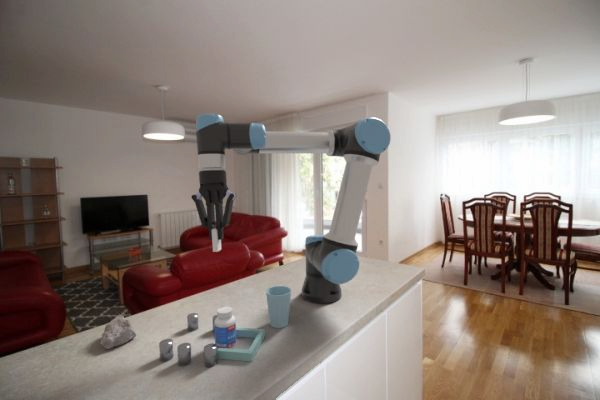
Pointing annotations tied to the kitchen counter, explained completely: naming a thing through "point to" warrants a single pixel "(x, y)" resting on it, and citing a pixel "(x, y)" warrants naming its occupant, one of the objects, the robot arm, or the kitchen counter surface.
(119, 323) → the stone
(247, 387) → the kitchen counter surface
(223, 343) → the pill bottle
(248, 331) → the teal bay
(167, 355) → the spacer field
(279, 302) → the cup
